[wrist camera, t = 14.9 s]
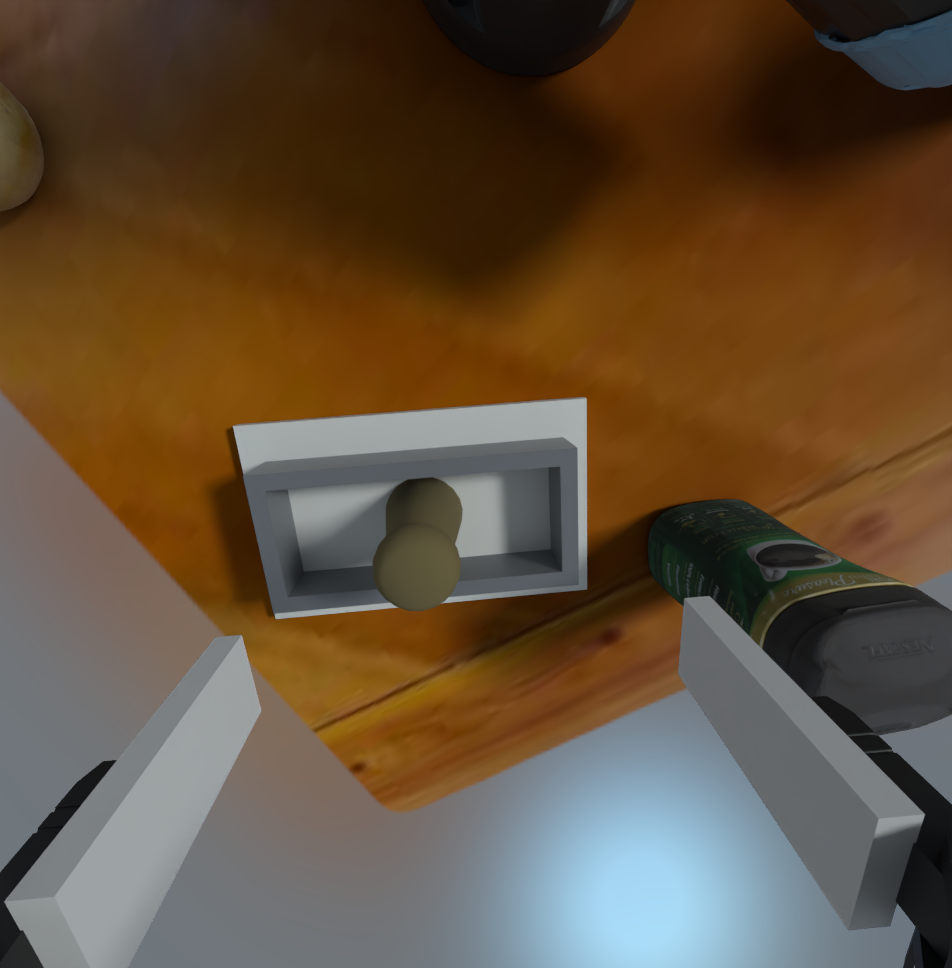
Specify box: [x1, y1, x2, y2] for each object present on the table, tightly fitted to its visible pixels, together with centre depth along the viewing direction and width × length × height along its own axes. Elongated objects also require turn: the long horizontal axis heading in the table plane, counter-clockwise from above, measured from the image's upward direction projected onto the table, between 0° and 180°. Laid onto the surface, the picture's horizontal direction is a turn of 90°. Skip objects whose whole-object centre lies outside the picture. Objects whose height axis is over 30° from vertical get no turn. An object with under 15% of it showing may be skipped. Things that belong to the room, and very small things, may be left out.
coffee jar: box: [648, 499, 952, 736], centre depth 31 cm, size 10×8×19 cm
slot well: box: [233, 397, 587, 619], centre depth 35 cm, size 26×16×5 cm, turn 94°
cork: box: [372, 477, 463, 611], centre depth 31 cm, size 6×6×11 cm
